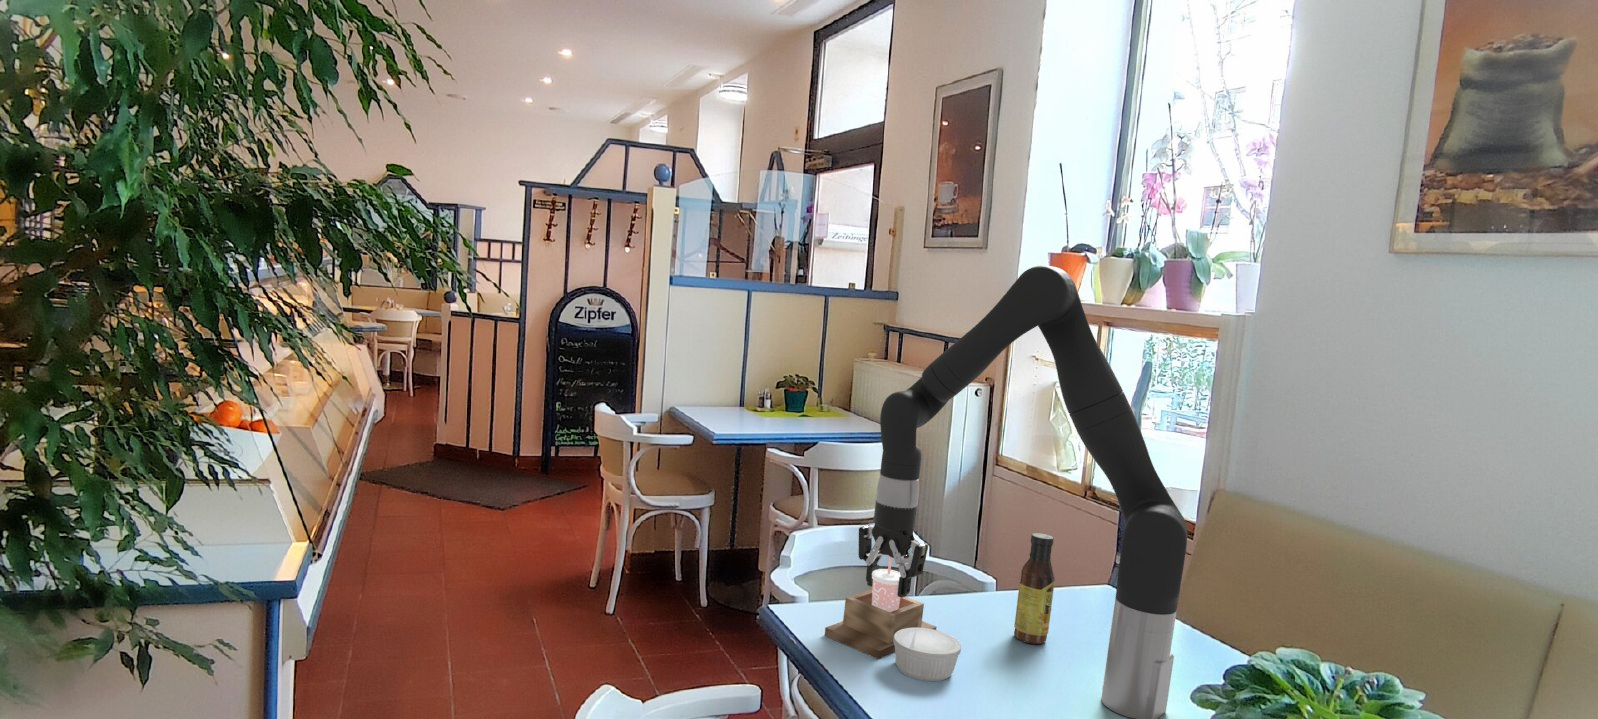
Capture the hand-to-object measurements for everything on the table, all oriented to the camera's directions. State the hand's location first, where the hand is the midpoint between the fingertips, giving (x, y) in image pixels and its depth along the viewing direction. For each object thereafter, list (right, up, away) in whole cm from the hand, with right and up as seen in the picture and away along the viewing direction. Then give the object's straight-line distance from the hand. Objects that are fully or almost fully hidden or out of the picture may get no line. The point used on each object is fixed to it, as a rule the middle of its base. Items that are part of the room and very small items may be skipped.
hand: (886, 590), depth 165 cm
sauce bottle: (+28, -11, +7) cm, 30 cm away
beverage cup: (-1, -6, +1) cm, 6 cm away
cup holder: (-1, -8, +1) cm, 9 cm away
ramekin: (+5, -11, -12) cm, 17 cm away
